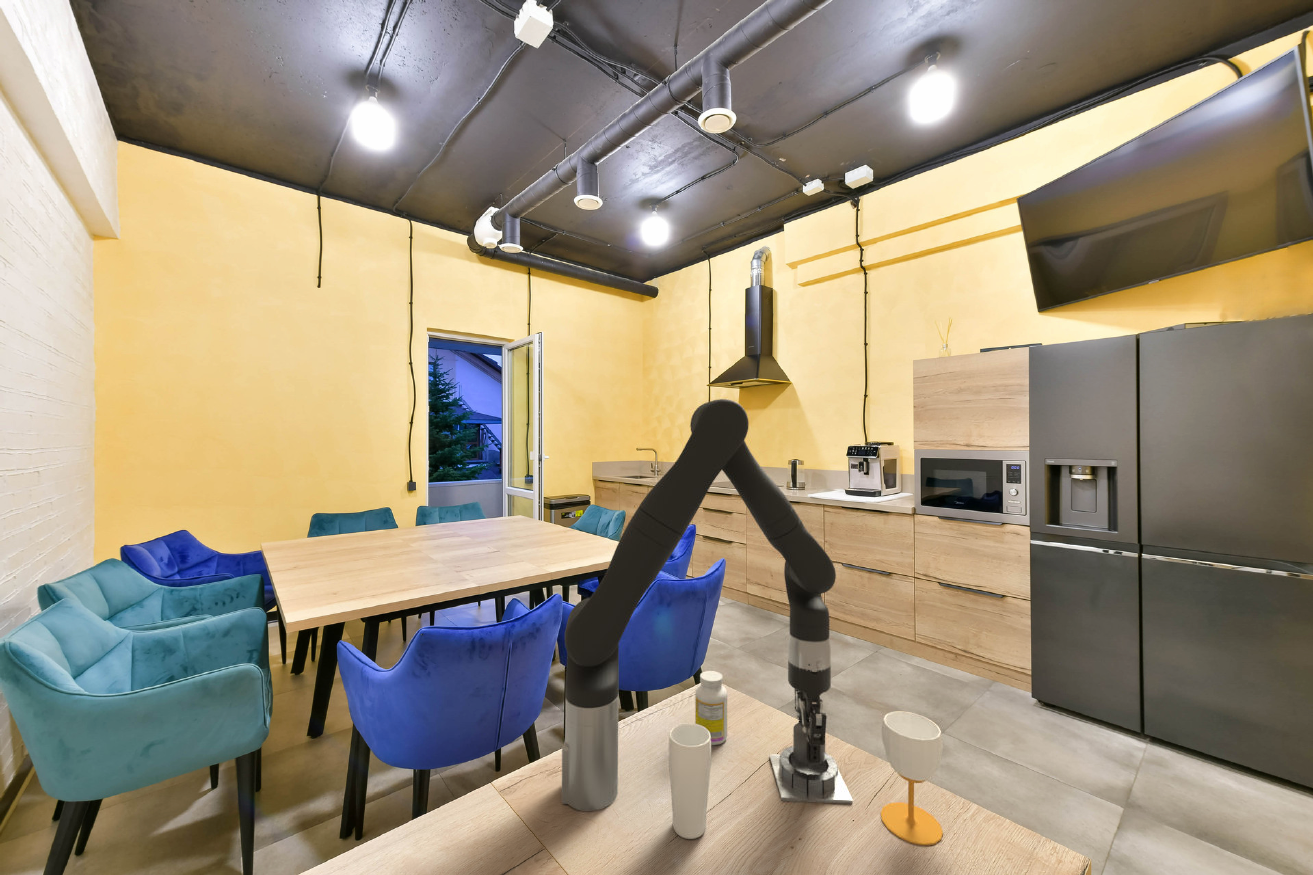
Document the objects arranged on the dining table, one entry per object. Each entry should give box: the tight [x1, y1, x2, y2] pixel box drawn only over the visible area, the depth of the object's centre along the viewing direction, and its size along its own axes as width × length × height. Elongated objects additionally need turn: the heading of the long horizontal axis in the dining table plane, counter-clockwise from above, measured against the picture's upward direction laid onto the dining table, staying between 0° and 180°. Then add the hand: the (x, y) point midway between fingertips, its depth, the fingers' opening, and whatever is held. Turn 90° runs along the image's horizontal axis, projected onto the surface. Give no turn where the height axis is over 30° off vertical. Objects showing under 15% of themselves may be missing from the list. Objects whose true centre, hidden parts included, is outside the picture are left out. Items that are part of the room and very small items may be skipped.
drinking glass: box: [668, 722, 712, 840], centre depth 81 cm, size 7×7×15 cm
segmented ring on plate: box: [768, 745, 853, 805], centre depth 93 cm, size 12×12×3 cm
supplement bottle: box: [694, 670, 728, 746], centre depth 106 cm, size 7×7×13 cm
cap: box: [792, 722, 826, 765], centre depth 93 cm, size 6×6×5 cm
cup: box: [879, 710, 944, 846], centre depth 82 cm, size 9×9×16 cm
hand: (808, 750), depth 93 cm, fingers closed on cap, 5 cm apart
